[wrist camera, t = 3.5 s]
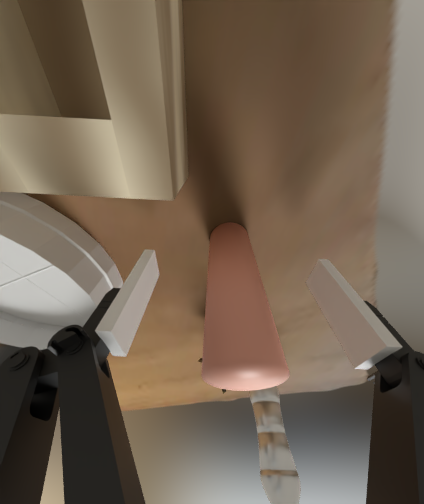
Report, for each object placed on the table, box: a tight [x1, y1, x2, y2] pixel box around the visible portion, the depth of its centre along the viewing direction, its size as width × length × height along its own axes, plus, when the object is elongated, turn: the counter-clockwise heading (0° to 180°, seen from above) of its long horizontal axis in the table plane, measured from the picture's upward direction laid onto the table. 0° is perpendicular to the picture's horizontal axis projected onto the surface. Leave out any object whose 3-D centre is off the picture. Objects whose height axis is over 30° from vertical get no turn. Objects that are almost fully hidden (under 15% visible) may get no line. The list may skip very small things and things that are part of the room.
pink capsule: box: [201, 222, 290, 391], centre depth 13 cm, size 4×4×12 cm
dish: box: [0, 192, 123, 350], centre depth 19 cm, size 22×22×5 cm
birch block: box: [0, 0, 189, 201], centre depth 8 cm, size 14×12×6 cm
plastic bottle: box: [249, 386, 301, 504], centre depth 32 cm, size 6×7×20 cm
